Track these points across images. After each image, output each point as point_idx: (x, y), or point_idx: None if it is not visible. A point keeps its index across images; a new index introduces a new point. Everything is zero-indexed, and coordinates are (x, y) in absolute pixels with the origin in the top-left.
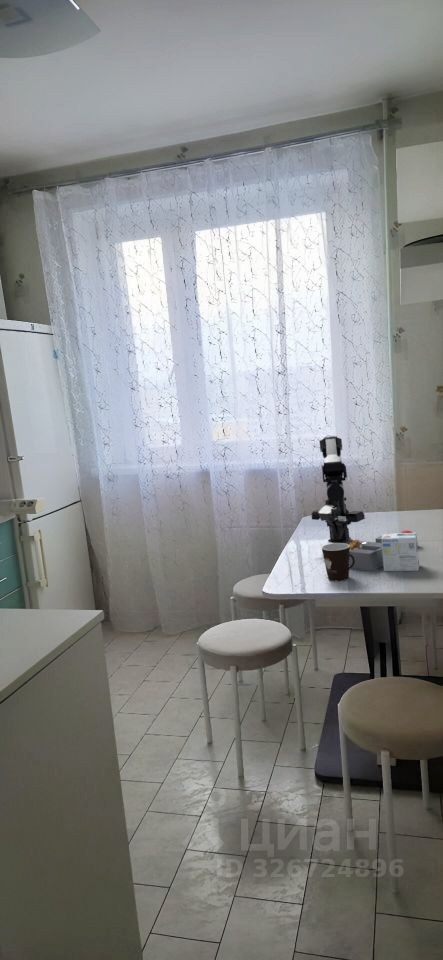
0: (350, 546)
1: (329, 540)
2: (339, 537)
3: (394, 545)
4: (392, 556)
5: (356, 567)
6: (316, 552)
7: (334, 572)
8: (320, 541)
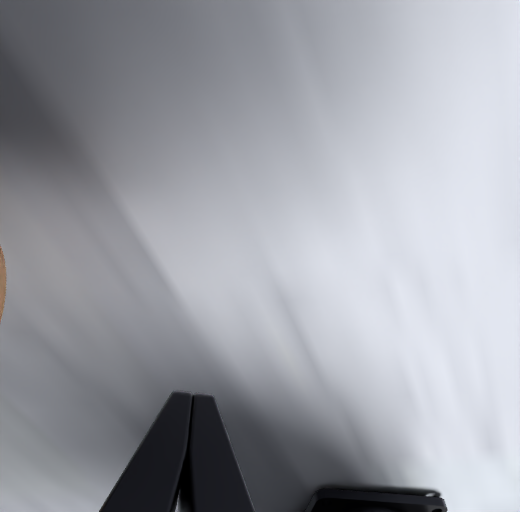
0: None
1: (433, 505)
2: (164, 416)
3: None
4: None
5: None
6: (513, 237)
7: None
8: (506, 494)
